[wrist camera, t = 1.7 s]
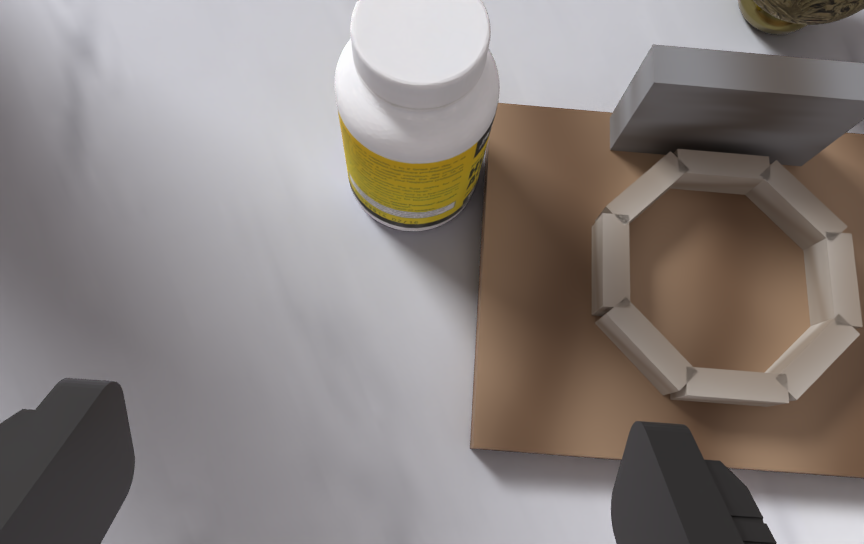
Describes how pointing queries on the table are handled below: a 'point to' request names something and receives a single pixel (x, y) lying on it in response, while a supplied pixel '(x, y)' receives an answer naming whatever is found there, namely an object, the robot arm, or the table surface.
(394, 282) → the table surface
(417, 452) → the table surface
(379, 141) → the supplement bottle
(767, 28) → the cup
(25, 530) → the robot arm
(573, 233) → the socket board
